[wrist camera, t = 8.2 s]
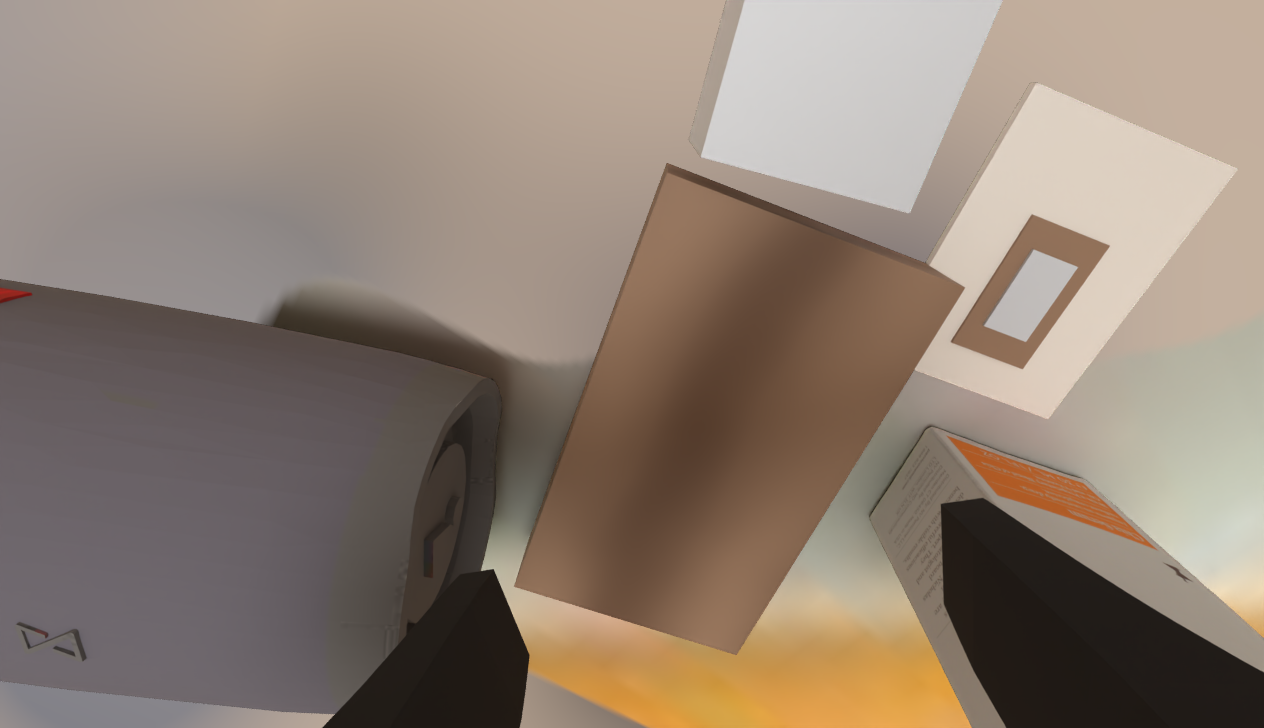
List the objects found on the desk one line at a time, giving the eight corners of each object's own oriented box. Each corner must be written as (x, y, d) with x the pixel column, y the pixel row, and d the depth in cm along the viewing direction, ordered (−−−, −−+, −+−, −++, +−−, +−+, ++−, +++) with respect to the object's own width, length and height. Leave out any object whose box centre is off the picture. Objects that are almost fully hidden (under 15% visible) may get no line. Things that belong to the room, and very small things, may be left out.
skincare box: (1088, 474, 20) (1624, 943, 9) (1013, 567, 21) (1381, 1056, 10) (924, 417, 19) (1275, 841, 8) (860, 516, 21) (1079, 978, 10)
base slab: (924, 263, 17) (965, 287, 15) (729, 599, 23) (736, 655, 20) (667, 162, 16) (667, 172, 14) (530, 536, 22) (514, 586, 20)
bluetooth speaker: (522, 297, 18) (377, 493, 9) (503, 534, 22) (388, 840, 13) (-221, 177, 18) (-1154, 254, 9) (-110, 438, 22) (-677, 684, 12)
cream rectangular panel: (1228, 167, 16) (1245, 169, 15) (1042, 414, 19) (1051, 422, 18) (1029, 83, 15) (1041, 82, 15) (873, 352, 18) (878, 358, 18)
